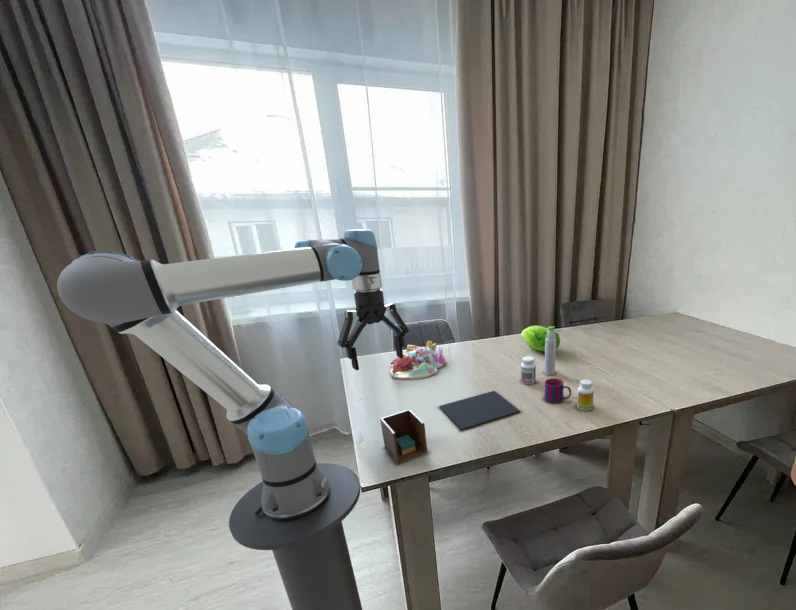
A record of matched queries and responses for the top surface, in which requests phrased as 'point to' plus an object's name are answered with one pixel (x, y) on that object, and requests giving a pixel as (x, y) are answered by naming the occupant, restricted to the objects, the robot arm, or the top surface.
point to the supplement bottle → (585, 395)
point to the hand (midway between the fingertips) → (378, 362)
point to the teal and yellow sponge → (405, 442)
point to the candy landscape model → (418, 362)
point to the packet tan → (406, 450)
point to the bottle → (550, 351)
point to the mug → (555, 390)
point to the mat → (478, 410)
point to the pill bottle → (528, 370)
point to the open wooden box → (403, 434)
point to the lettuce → (537, 337)
